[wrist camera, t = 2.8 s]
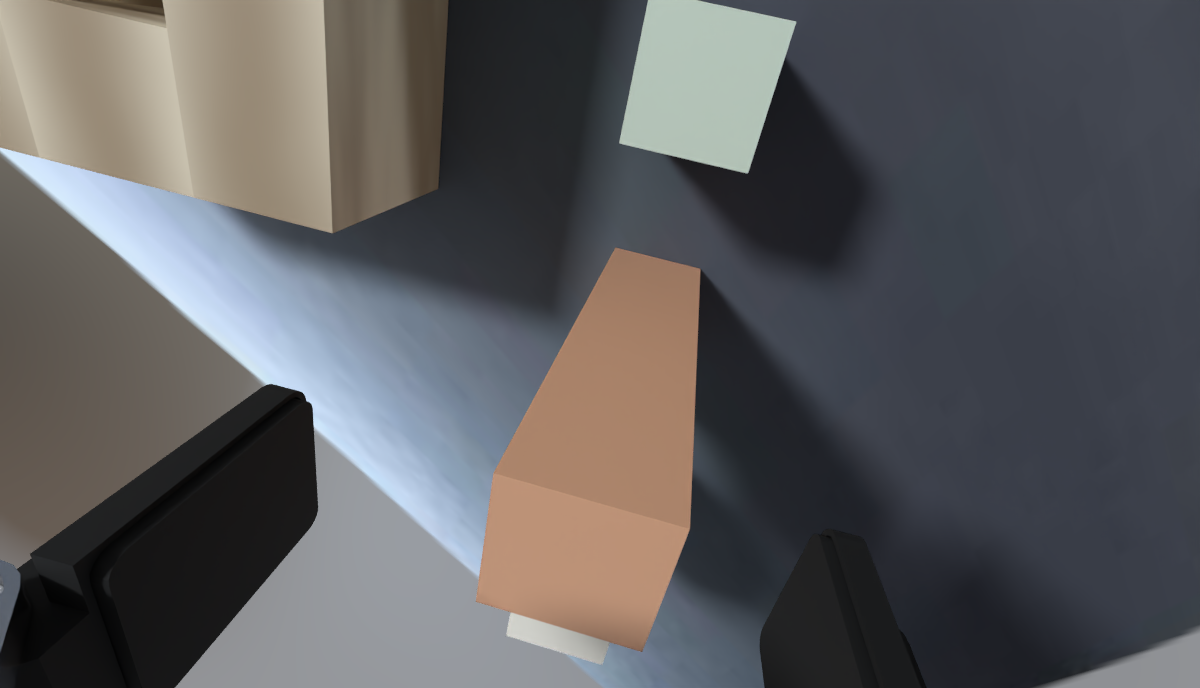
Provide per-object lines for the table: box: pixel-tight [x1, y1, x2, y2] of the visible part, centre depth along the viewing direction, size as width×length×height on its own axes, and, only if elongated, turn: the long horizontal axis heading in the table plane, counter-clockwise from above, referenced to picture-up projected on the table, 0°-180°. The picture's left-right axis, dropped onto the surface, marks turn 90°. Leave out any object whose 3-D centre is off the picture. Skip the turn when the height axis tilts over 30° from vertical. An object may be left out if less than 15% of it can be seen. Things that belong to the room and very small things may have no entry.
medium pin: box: [506, 612, 610, 665], centre depth 19 cm, size 3×3×8 cm
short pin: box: [619, 0, 796, 174], centre depth 14 cm, size 3×3×5 cm
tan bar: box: [476, 248, 700, 652], centre depth 14 cm, size 3×3×12 cm
